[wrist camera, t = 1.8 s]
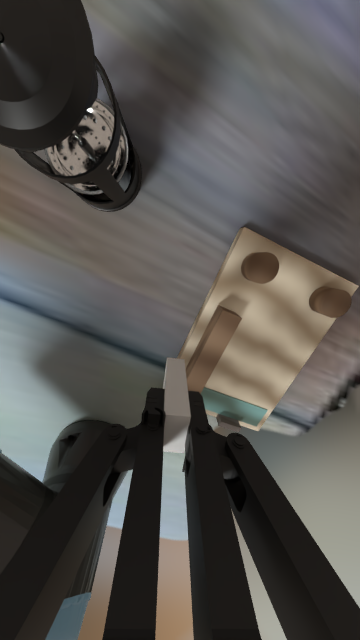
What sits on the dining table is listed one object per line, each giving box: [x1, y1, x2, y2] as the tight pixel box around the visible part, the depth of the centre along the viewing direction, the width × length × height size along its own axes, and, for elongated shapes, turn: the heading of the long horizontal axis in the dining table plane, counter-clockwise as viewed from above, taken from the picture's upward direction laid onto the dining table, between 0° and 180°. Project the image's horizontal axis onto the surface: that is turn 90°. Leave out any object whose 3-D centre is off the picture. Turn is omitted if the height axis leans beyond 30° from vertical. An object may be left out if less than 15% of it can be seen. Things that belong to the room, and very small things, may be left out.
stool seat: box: [162, 227, 358, 432], centre depth 32 cm, size 30×20×5 cm, turn 156°
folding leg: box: [185, 305, 242, 394], centre depth 31 cm, size 18×3×4 cm, turn 156°
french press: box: [0, 0, 142, 212], centre depth 15 cm, size 12×9×23 cm
